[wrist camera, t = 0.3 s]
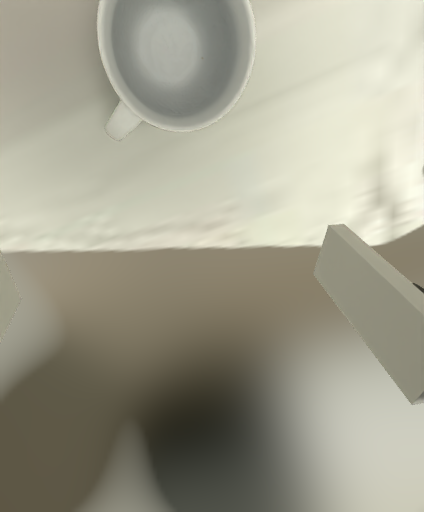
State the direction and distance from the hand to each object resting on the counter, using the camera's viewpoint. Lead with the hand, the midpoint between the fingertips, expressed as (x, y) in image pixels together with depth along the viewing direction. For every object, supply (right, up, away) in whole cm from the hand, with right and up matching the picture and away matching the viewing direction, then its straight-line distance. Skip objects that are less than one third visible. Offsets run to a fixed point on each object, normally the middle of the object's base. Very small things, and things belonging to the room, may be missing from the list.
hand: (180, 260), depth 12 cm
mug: (-4, +21, +19) cm, 28 cm away
